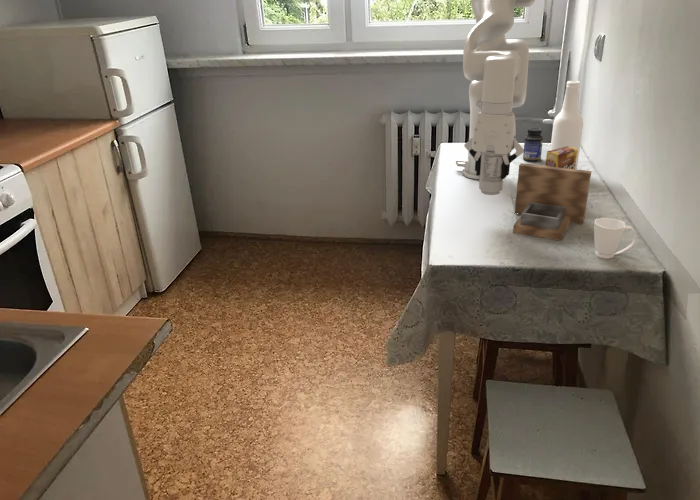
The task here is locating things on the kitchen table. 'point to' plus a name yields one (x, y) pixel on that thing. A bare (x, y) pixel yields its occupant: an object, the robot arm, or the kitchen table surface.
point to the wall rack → (550, 199)
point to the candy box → (562, 157)
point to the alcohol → (568, 121)
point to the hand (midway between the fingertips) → (491, 175)
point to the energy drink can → (491, 172)
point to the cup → (609, 237)
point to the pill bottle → (533, 145)
